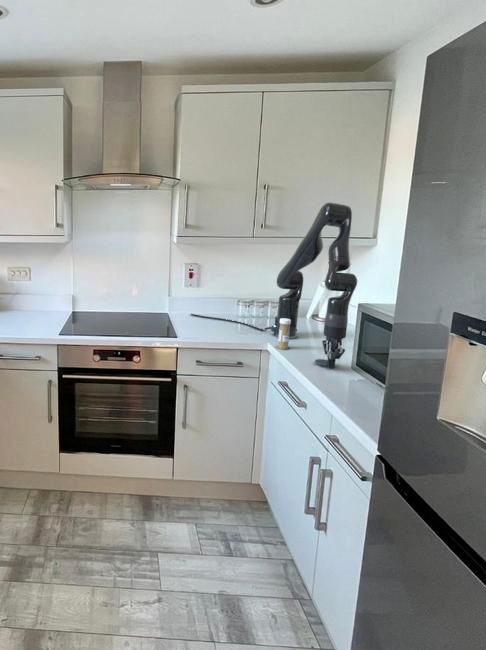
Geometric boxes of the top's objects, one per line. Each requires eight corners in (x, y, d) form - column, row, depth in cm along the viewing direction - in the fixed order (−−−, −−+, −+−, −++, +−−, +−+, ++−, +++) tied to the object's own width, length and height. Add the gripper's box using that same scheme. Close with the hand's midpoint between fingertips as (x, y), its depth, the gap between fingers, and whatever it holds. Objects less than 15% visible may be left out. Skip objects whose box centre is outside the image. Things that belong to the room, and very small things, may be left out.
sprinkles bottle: (287, 350, 186) (290, 320, 184) (276, 348, 189) (279, 319, 187) (288, 347, 190) (291, 318, 188) (278, 345, 193) (281, 317, 190)
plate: (311, 363, 169) (311, 361, 168) (320, 360, 173) (320, 358, 172) (329, 369, 163) (329, 366, 163) (337, 365, 167) (338, 362, 167)
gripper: (317, 320, 167) (312, 361, 170) (334, 328, 154) (329, 373, 157) (336, 320, 167) (331, 362, 169) (355, 329, 154) (349, 374, 156)
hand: (330, 367), depth 163 cm, fingers closed
